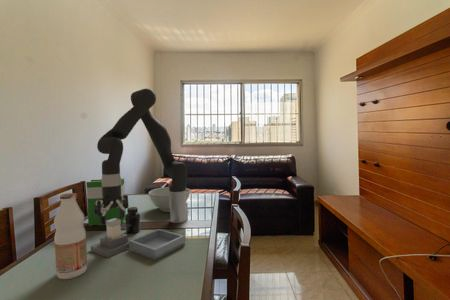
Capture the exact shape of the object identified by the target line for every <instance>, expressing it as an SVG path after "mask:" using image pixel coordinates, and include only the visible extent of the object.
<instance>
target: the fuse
mask: <svg viewBox="0 0 450 300" xmlns="http://www.w3.org/2000/svg"><path fill="white" fill-rule="evenodd" d="M121 225H122V224H121V220H120V219H116V218H114V219H110V220H107V221H106V225H105V226H106V235H107V238H108V239H111V240H113V239H115V238H118V237H121V233H122V232H121V231H122V230H121V229H122V228H121V227H122V226H121Z"/></svg>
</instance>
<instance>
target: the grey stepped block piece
mask: <svg viewBox="0 0 450 300" xmlns="http://www.w3.org/2000/svg"><path fill="white" fill-rule="evenodd" d="M132 239H133V238H130V237H129V234H127V233H122V232H121V237H118V238H115V239H113V240H111V239H108V238H107V234H106V235H103V236H100V237H99V242H98V243H94V244H92V245H90V251H91V252H93V253H96V254H98V255H100V256H103V257H104V258H110V257H112V256H114V255H117V254H119V253H121V252H123V251H126V250H129V241H130V240H132Z"/></svg>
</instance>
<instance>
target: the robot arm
mask: <svg viewBox="0 0 450 300" xmlns="http://www.w3.org/2000/svg"><path fill="white" fill-rule="evenodd" d="M156 96H157V95H156V93H155V92H154V91H153V89H151V88H142V89H139V90H136V91H134V92H132V93H131V95H130V101H131V105H132V107H131V108H130V109H128V110H127V111H126V112H125V113H124V114H123V115H122V116H120V118H119V119H117V121H116V123H115V124H114V126H112V128H110V129H109V130H108V131H107V132H105V133H104V135H102V136H101V137H100V138H99V140H98V142H97V145H96V148H97V150H98V152H99V153H101V154H104V155H108V157H107V159H104V160H102V162H101V179H102V197H103V199H102V200H100V201H97V200H96V201H95V211H94V214H95V215H97V216H100V223H101V224H102V225H101V226H106V225H105V216H104V215H105V214H106V212H107V211H108V210H109V209H111V208H113V207H118V208H119V209H120V210H119V218H120V219H124V217H125V212H124V211H125V209H128V208H130V207H129V197H128V196H129V195H127V194H125V195H122V196H121V179H122V177H121V176H122V175H121V165H120V163H121V162H122V157H123V153H124V143H123V141H122V140H125V139H126V138H127V137H128V136H129V135H130V134H131V132H132V131H133V129H134V127H135V126H136V125H137V123H139V121H140V120H141V121H142V123H143V125H144V127H145V129H146V131H147V133H148V135H149V138H150V139H151V141H152V144H153V145H154V148H155V149H156V152H157V153H158V156H159V157H160V160H161V162H162V165H163V168H164V171H165V173H166V175H167V176H168V177H169V178H172V180H173V181H172V184H170V185H169V186H168V187H169V199H170V212H169V220H170V221H169V222H170V223H173V224H182V223H185V222H187V220H188V219H189V214H188V210H189V208H188V207H189V206H188V202H187V201H186V188H187V185H188V167H187V165H186V163H184V162H182V161H181V162H180V161H177V160H176V159H175V156H174V155H173V153H172V139H171V137H170V135H169V133H168V130H167V128H166V127H165V126H164V125H163V124H162V122H160V121H159V120H158V119H156V117H155V116H154V115H153V114H152V113H151V110H150V109H151V108H152V107H153V106H154V105H155V104H156V101H157V97H156ZM121 199H122V201H123V205H122V204H121V203H120V201H121ZM102 203H103V206H102V208H101V205H102ZM105 207H106V208H105Z"/></svg>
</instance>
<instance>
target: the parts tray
mask: <svg viewBox="0 0 450 300" xmlns="http://www.w3.org/2000/svg"><path fill="white" fill-rule="evenodd" d="M185 236H186V235H183V234H181V233H176V232H171V231H169V230H165V229H162V228H158V229H155V230H152V231H150V232H148V233H145V234H143V235H139V236H138V237H134V238H131V239H132V240H130V241H129V248H128V250H129V251H131V252H133V253H136V254H138V255H141V256H144V257H147V258H149V259H150V260H151V259H152V260H154V261H157V260H159V259H161V258H163V257H164V256H166V255H168V254H170V253H173V252H174V251H176V250H178V249H179V248H181V247H183V246H185V245H186V237H185Z"/></svg>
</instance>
